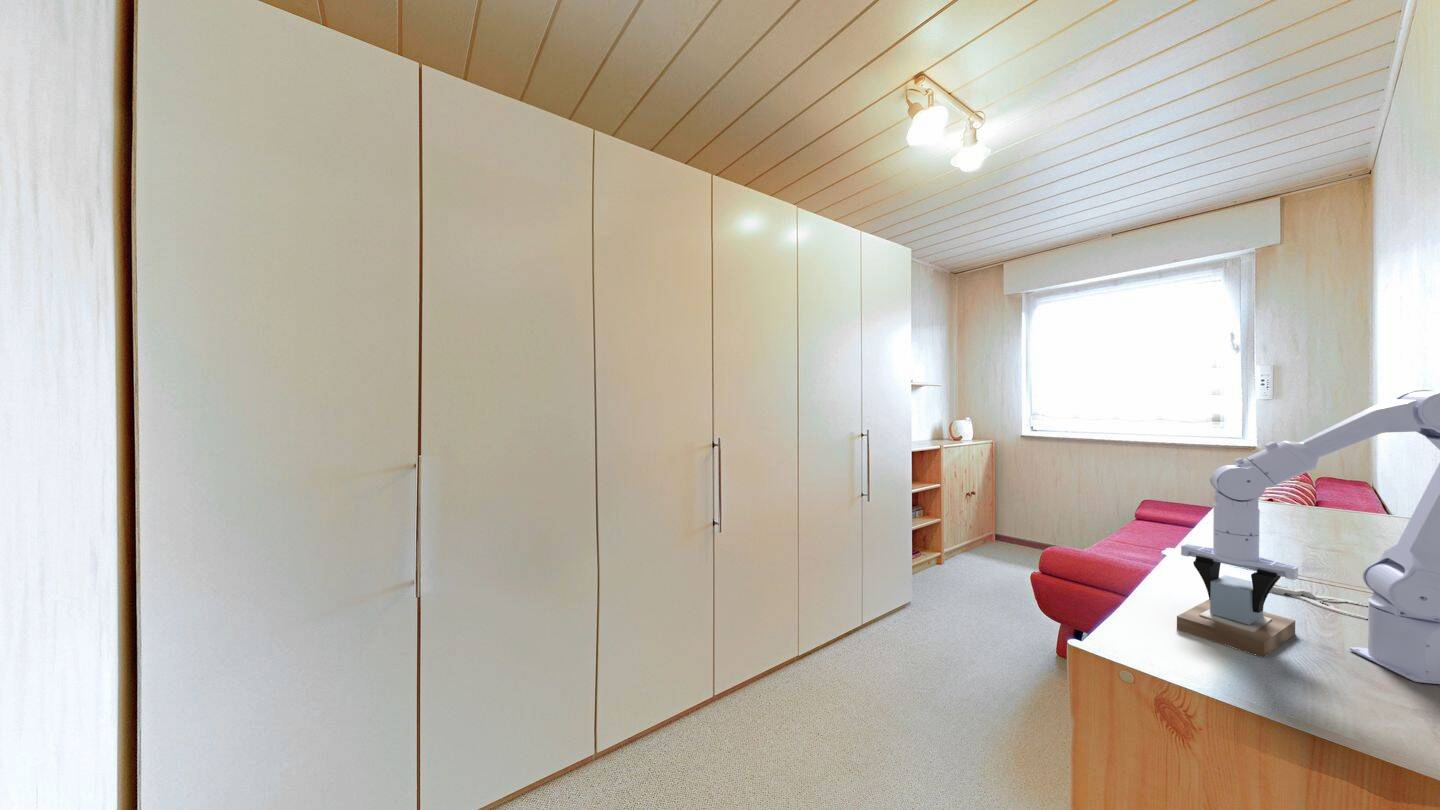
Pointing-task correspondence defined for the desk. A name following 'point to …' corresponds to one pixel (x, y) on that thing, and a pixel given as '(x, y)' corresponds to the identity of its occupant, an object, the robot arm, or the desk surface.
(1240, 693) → the desk surface
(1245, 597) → the block
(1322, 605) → the pliers
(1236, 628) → the stand
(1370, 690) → the desk surface
